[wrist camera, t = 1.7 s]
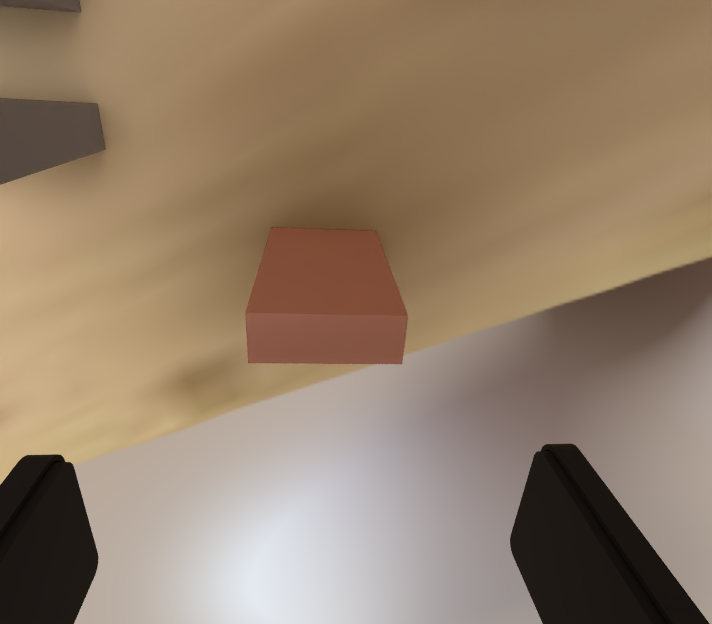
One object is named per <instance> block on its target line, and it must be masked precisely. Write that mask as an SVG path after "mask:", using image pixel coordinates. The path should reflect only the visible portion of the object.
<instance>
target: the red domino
mask: <svg viewBox="0 0 712 624" xmlns="http://www.w3.org/2000/svg"><path fill="white" fill-rule="evenodd" d="M407 320H408V315H407V312H406V309H405V307H404V304H403V301H402V299H401V296H400V294H399V291H398V288H397V286H396V283H395V280H394V278H393V275H392V273H391V270H390V267H389V265H388V262H387V260H386V257H385V254H384V252H383V249H382V246H381V244H380V241H379V239H378V236H377V233H376V231H367V230H338V229H309V228H280V227H272V228H271V231H270V234H269V238H268V241H267V244H266V247H265V251H264V254H263V257H262V261H261V264H260V267H259V270H258V274H257V277H256V280H255V284H254V287H253V290H252V293H251V297H250V300H249V303H248V306H247V310H246V330H247V348H248V363H323V364H402V360H403V352H404V344H405V336H406V328H407Z"/></svg>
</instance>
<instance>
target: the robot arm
mask: <svg viewBox="0 0 712 624" xmlns="http://www.w3.org/2000/svg"><path fill="white" fill-rule="evenodd" d="M510 544H511V551H512V554H513V556H514V559H515V561H516V563H517V566H518V568H519V570H520V573H521V575H522V577H523V579H524V582H525V584H526V586H527V589H528V591H529V593H530V595H531V598H532V600H533V602H534V605H535V607H536V609H537V611H538V614H539V616H540V618H541V621H542V623H543V624H709V622H708V621H707V620H706V618H705V617H704V616H703V614H702V613H701V612H700V610H699V609H698V608H697V606H696V605H695V604H694V602H693V601H692V600H691V598H690V597H689V596H688V594H687V593H686V592H685V590H684V589H683V588H682V586H681V585H680V584H679V582H678V581H677V580H676V578H675V577H674V576H673V574H672V573H671V572H670V570H669V569H668V568H667V566H666V565H665V564H664V562H663V561H662V560H661V558H660V557H659V556H658V554H657V553H656V552H655V550H654V549H653V548H652V546H651V545H650V544H649V542H648V541H647V540H646V538H645V537H644V536H643V534H642V533H641V531H640V530H639V529H638V527H637V526H636V525H635V524H634V522H633V521H632V519H631V518H630V517H629V515H628V514H627V513H626V511H625V510H624V509H623V508H622V506H621V505H620V503H619V502H618V501H617V499H616V498H615V497H614V496H613V494H612V493H611V491H610V490H609V489H608V487H607V486H606V485H605V483H604V482H603V481H602V479H601V478H600V477H599V475H598V474H597V473H596V471H595V470H594V469H593V467H592V466H591V465H590V463H589V462H588V461H587V459H586V458H585V457H584V455H583V454H582V453H581V452H580V450H579V449H578V448H577V447H576V446H575V445H573V444H547V445H544V446H543V447H542V449H541V451H540V452H536V454H535V455H534V458H533V461H532V465H531V468H530V472H529V475H528V479H527V482H526V485H525V489H524V492H523V496H522V499H521V502H520V506H519V509H518V513H517V516H516V519H515V523H514V526H513V530H512V533H511V538H510ZM97 565H98V553H97V549H96V545H95V542H94V538H93V535H92V531H91V528H90V524H89V520H88V517H87V513H86V509H85V506H84V502H83V498H82V495H81V491H80V488H79V484H78V480H77V477H76V473H75V470H74V467H73V464H72V463H71V462H65V460H64V458H63V457H62V456H61V455H27V456H25V457H23V458H22V459H21V460H20V461H19V462H18V463H17V464H16V466H15V467H14V468H13V469H12V471H11V472H10V473H9V475H8V476H7V477H6V478H5V480H4V481H3V482H2V484H1V485H0V624H74V622H75V620H76V617H77V615H78V613H79V610H80V608H81V606H82V603H83V601H84V599H85V597H86V594H87V592H88V589H89V588H90V585H91V583H92V581H93V579H94V576H95V573H96V570H97Z"/></svg>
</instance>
